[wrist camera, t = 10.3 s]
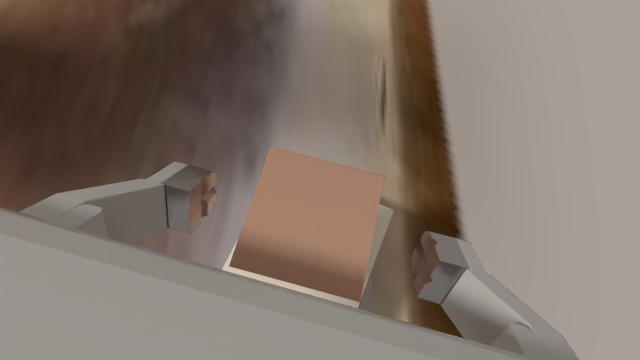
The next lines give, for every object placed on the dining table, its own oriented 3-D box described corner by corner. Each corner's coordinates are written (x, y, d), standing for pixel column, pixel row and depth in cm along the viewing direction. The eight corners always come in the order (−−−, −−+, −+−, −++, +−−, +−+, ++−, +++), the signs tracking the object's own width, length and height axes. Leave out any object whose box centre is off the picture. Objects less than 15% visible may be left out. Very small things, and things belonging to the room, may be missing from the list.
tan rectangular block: (270, 261, 17) (228, 266, 8) (288, 204, 18) (270, 146, 9) (329, 277, 17) (360, 302, 8) (343, 218, 18) (384, 176, 9)
